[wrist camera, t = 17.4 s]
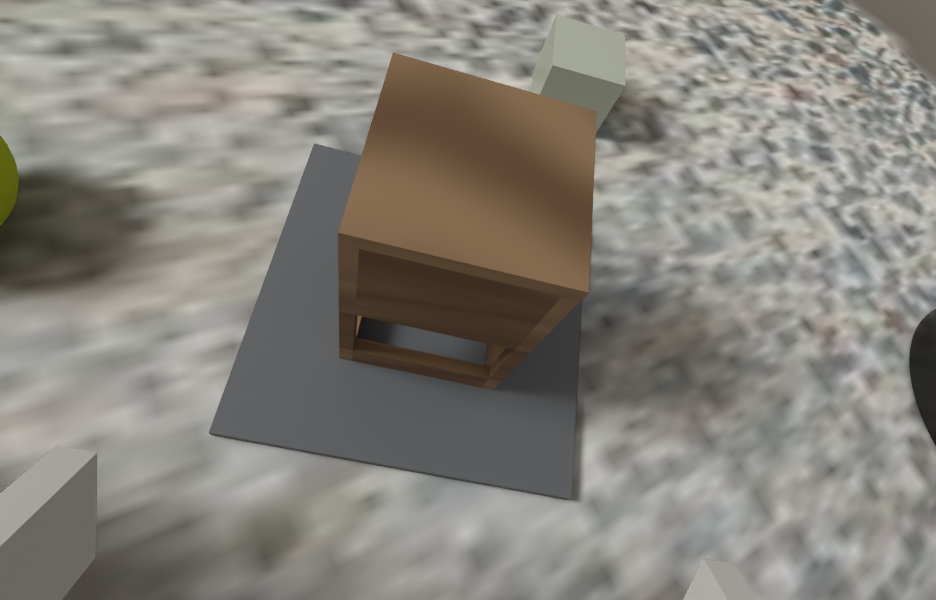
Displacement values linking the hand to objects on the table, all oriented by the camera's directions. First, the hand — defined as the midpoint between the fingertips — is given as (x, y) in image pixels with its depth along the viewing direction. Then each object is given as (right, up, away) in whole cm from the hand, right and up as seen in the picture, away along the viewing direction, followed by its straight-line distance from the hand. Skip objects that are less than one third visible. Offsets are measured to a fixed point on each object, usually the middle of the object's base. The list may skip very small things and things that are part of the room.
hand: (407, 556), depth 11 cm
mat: (-1, +5, +15) cm, 16 cm away
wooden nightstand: (0, +5, +15) cm, 16 cm away
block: (+8, +19, +24) cm, 31 cm away
